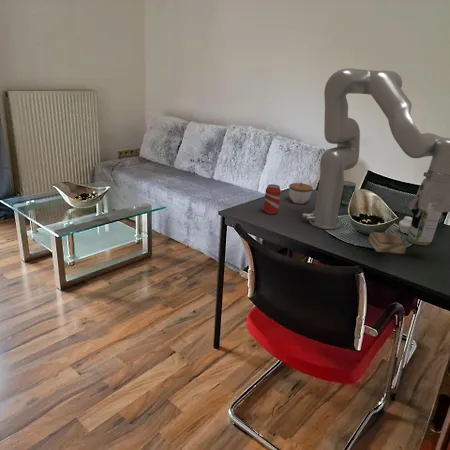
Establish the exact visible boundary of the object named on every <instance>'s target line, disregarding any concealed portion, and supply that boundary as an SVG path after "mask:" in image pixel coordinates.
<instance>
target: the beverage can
mask: <svg viewBox="0 0 450 450" xmlns="http://www.w3.org/2000/svg"><path fill="white" fill-rule="evenodd" d="M281 191H282V190H281V188H280V185H278V184H273V183H272V184H268V185H267V187H266V188H265V192H264V193H265V194H264V202H263V212H265V214H267V215H276V214H277V213H278V212H279V207H280V200H281Z"/></svg>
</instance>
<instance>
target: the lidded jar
mask: <svg viewBox="0 0 450 450" xmlns="http://www.w3.org/2000/svg"><path fill="white" fill-rule="evenodd" d="M312 192H313V187H312V185H309V184H306V183H303V182H294V183H290V184H289V189H288V195H289V198H290V200H291V201H292V203H294V204H299V205H301V204H302V205H303V204H305V203H306V202H308V201H309V200H310V198H311V195H312Z"/></svg>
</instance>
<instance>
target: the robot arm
mask: <svg viewBox="0 0 450 450" xmlns="http://www.w3.org/2000/svg"><path fill="white" fill-rule="evenodd" d="M402 86H403V80H402V77H401V76H400V75H399V73H398V72H396V71H392V70H374V69H373V70H372V69H371V70H370V69H359V68H358V69H357V68H347V67H346V68H341V69H338V70H337V71H336V72H334V73H332V75H330V77H328V80H327V81H326V83H325V86H324V93H323V94H324V95H323V96H324V127H323V128H324V129H323V130H324V131H323V132H324V134H323V135H324V139H325V141H326V143H328V144H332V145H337V146H336V147H335V146H334V147H331V148H328V149H327V150H326V151H325V150H324V152H323V154H321V157H320V160H319V161H320V163H319V167H320V168H319V169H320V170H319V171H320V172H319V181H318V189H317V194H316V200H315V201H316V202H315V206H314V208H315V209H314V210H312V212H310V213H307V212H303V213H302V217H301V218H303V219H306V220H308V221H309V224H310V225H312V226H313V227H316V228H318V229H322V230H330V231H331V230H337V229H339V228H340V227H341V222H340V221H339V219H338V218H339V213H340V208H341V207H340V203H341V197H342V192H343V186H344V181H345V177H344V173H345V172H344V171H347V170H348V171H349V170H351V169H354V168H355V166H356V165H357V164H358V161H359V159H360V141H361V131H360V126H359V124H358V122H357V120H355V119H354V118H352V117H349V104H348V100H347V95H348V94H351V95H352V94H358V95H359V94H361V95H369V96H371V97H372V99H374V101H375V102H376V103H377V105H378V107H379V108H380V110H381V111H382V112H383V115H385V117H386V119H387V122H388V127H389V129H390V132H391V134H392V137H393V139H394V140H395V142H396V143H397V145H398V146H399V148H400V149H401V151H402V152H403V153H404V154H405V155H407V156H408V157H410V158H411V159H421V158H425V157H431V161H430V164H429V167H428V169H427V172H426V171H425V172H424V173H423V177H425V178H423V180H422V182H421V184H420V186H419V188H418V190H417V193H416V196H415V198H414V199H412V200H411V201H409V203H407V204H406V205H407V206H406V207H408V209H409V210H410V212H411V213H412V218H413V219H412V222H411V225H412V226H413V227H414V228H418V225H419V222H420V217H419V216H420V215H421V214H422V212H423V211H426V210H427V207H428V204H429V203H431V202H432V203H433V202H435V204H437V205H438V206H437V205H435V204H434V203H433V204H434V205H435V206H434V205H433V204H432V205H433V208H434V211H436V212H442V213H441V216H440V219H439V221H438V224H437V227H436V229H437V228H438V227H439V223H440V220H442V219H443V218H444V217H445V216H446V215H447V214H449V213H450V137H443V136H439V135H437V134H435V133H434V134H433V133H431V132H425V133H421V132H420V130H419V129H418V128H417V126H416V125H415V123H414V121H413V119H412V115H411V111H412V102H411V100H410V99H409V98H408V96H407V95H406V93H405V92H404V91H403V90H402ZM416 206H417V207H416ZM415 207H416V208H415Z"/></svg>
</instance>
